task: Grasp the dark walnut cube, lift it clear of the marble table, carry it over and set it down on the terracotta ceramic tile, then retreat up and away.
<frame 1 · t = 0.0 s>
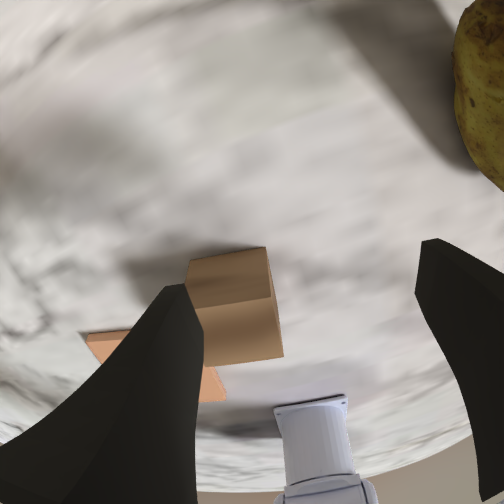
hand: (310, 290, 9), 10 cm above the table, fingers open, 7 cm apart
olive green oval piece: (473, 94, 15), on the table
terracotta tile: (159, 366, 27), on the table
walnut cube: (235, 283, 22), on the table
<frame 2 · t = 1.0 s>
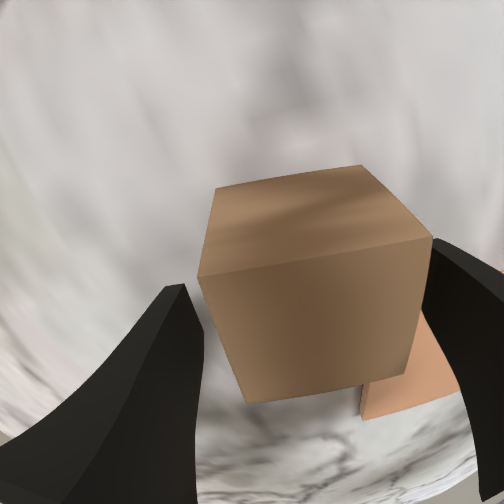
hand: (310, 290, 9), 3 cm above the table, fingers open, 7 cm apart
terracotta tile: (441, 347, 16), on the table
walnut cube: (298, 238, 12), on the table
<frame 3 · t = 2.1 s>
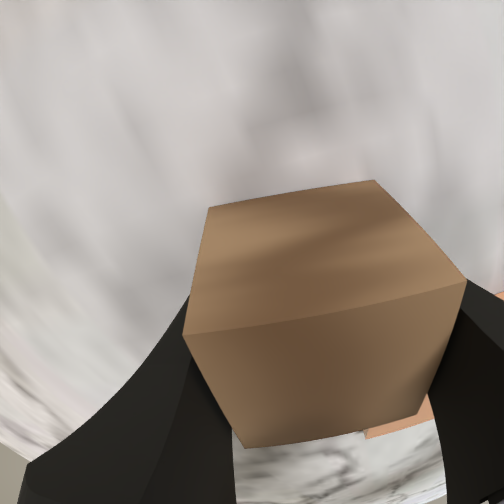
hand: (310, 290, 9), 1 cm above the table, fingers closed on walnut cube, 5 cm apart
terracotta tile: (449, 365, 14), on the table
walnut cube: (302, 262, 10), on the table, touching gripper
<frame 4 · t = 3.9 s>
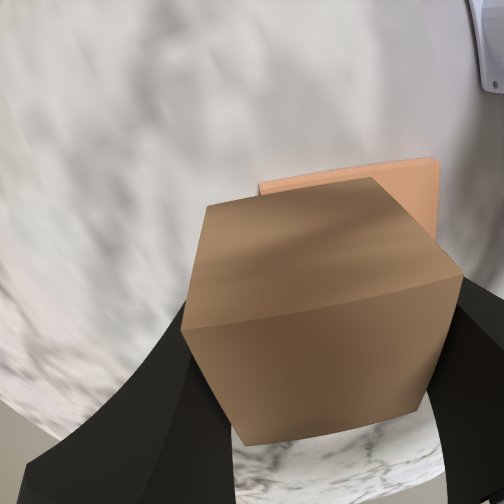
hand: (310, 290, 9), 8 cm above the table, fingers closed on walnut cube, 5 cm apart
terracotta tile: (356, 247, 18), on the table
walnut cube: (301, 260, 10), point 7 cm above the table, touching gripper
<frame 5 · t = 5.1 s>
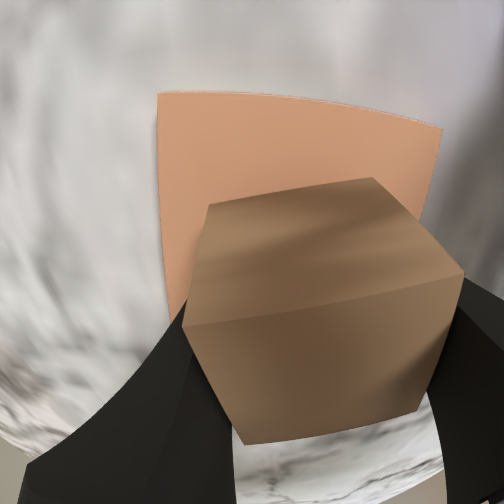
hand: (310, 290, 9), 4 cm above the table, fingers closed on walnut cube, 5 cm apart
terracotta tile: (292, 225, 13), on the table
walnut cube: (302, 259, 10), point 3 cm above the table, touching gripper
when the fingers open (4 cm above the table, at t = 6.0 s): walnut cube drops 1 cm, resting on terracotta tile.
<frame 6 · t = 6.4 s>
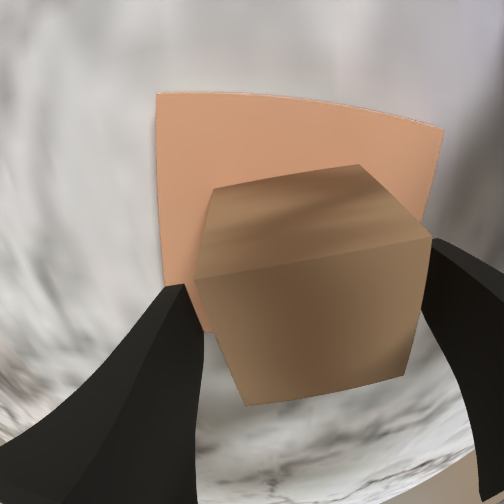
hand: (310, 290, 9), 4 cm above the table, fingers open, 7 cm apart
terracotta tile: (292, 227, 12), on the table
walnut cube: (297, 238, 12), point 1 cm above the table, touching terracotta tile
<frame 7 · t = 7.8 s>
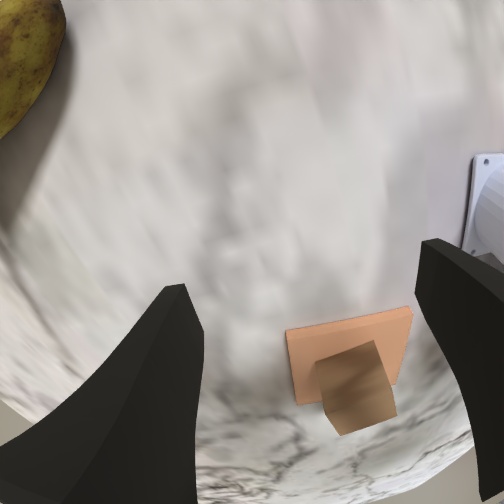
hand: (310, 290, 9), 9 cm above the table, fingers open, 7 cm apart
olive green oval piece: (8, 87, 13), on the table
terracotta tile: (348, 358, 26), on the table
walnut cube: (350, 366, 25), point 1 cm above the table, touching terracotta tile
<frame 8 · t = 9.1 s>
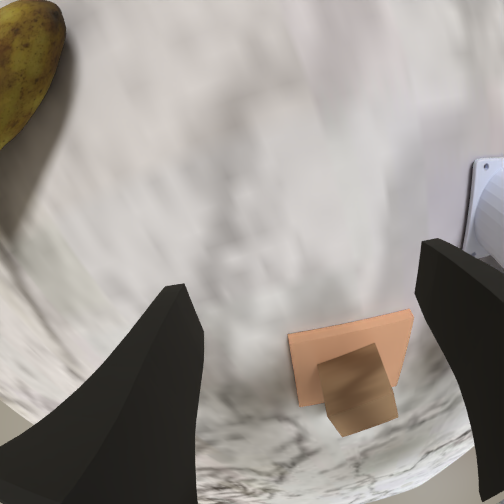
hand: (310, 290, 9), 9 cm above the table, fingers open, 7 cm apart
olive green oval piece: (9, 94, 13), on the table
terracotta tile: (349, 360, 26), on the table
walnut cube: (352, 369, 25), point 1 cm above the table, touching terracotta tile
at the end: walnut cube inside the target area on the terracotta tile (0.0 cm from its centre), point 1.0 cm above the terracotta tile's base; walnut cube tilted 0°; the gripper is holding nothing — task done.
